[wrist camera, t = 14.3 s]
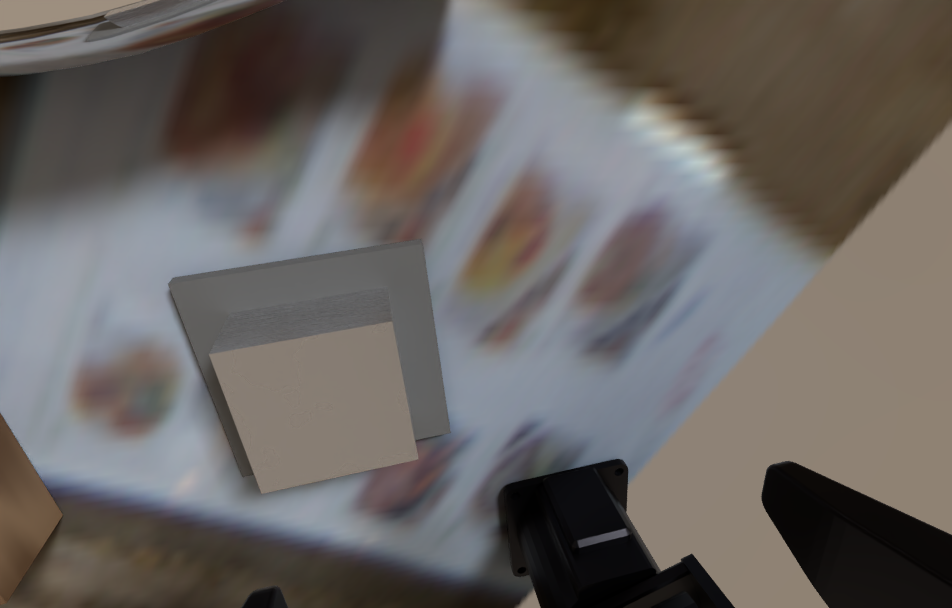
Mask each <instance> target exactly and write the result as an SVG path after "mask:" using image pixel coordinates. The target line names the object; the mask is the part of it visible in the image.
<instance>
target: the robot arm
mask: <svg viewBox="0 0 952 608" xmlns="http://www.w3.org/2000/svg"><path fill="white" fill-rule="evenodd" d="M617 469H618V470H617ZM627 487H628V467H627V465H626V464H625V462H624V461H623V460H621V459H615V460H611V461H606V462H602V463H598V464H593V465H589V466H585V467H580V468H576V469H572V470H567V471H563V472H558V473H554V474H550V475H545V476H541V477H537V478H532V479H528V480H524V481H519V482H515V483H512V484H509V485H508V486H507V487H506V488H505V490H504V498H505V508H506V519H507V529H508V540H509V550H510V560H511V568H512V571H513V574H514V575H515V576H517V577H521V576H526V575H530V577H531V580H532V583H533V586H534V589H535V592H536V595H537V598H538V601H539V604H540V607H541V608H735V607H734V606H733V605H732V604H731V602H730V601H729V600H728V599H727V597H726V596H725V595H724V594H723V592H722V591H721V590H720V588H719V587H718V586H717V585H716V583H715V582H714V581H713V580H712V578H711V577H710V576H709V575H708V573H707V572H706V571H705V569H704V568H703V567H702V566H701V564H700V563H699V562H698V561H697V559H696V558H695V557H694V555H693V554H690V555H688V556H686V557H684V558H682V559H681V562H679V563H677V564H675V565H674V566H671V567H669V568H667V569H665V570H663V571H660V569H659V567H658V566H657V564H656V562H655V560H654V559H653V557H652V556H651V554H650V552H649V550H648V549H647V547H646V545H645V544H644V542H643V540H642V539H641V537H640V535H639V534H638V532H637V530H636V529H635V527H634V525H633V524H632V522H631V520H630V519H629V517H628V515H627V514H626V508H627ZM515 492H517V493H515ZM513 493H515V494H513ZM762 503H763V506H764V508H765V510H766V512H767V513H768V515H769V517H770V518H771V520H772V522H773V523H774V525H775V526H776V528H777V529H778V531H779V533H780V534H781V536H782V538H783V539H784V541H785V542H786V544H787V546H788V547H789V549H790V550H791V552H792V554H793V555H794V557H795V558H796V560H797V562H798V563H799V565H800V566H801V568H802V570H803V571H804V573H805V574H806V576H807V577H808V579H809V580H810V582H811V583H812V585H813V586H814V588H815V589H816V591H817V592H818V593H819V595H820V596H821V597H822V599H823V600H824V601H825V603H826V604H827V605H828V607H829V608H952V535H951V534H949V533H947V532H944V531H942V530H940V529H938V528H936V527H934V526H931V525H929V524H927V523H925V522H923V521H921V520H918V519H916V518H914V517H912V516H910V515H907V514H905V513H903V512H901V511H899V510H897V509H894V508H892V507H890V506H888V505H886V504H883V503H881V502H879V501H877V500H875V499H873V498H871V497H868V496H866V495H864V494H862V493H860V492H858V491H855V490H853V489H851V488H849V487H846V486H844V485H842V484H840V483H838V482H836V481H834V480H831V479H829V478H827V477H825V476H823V475H821V474H818V473H816V472H814V471H812V470H810V469H808V468H805V467H803V466H801V465H799V464H797V463H794V462H790V461H785V462H781V463H777V464H773V465H770V466H769V467H768V468H767V471H766V475H765V480H764V485H763V490H762ZM241 608H288V606H287V604H286V601H285V599H284V596H283V594H282V591H281V589H280V588H279V587H278V586H270V587H266V588H262V589H258V590H255V591H253V592H252V593H251V594H250V595H249V596H248V598H247V599H246V601H245V603H244V604H243V606H242V607H241Z"/></svg>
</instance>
